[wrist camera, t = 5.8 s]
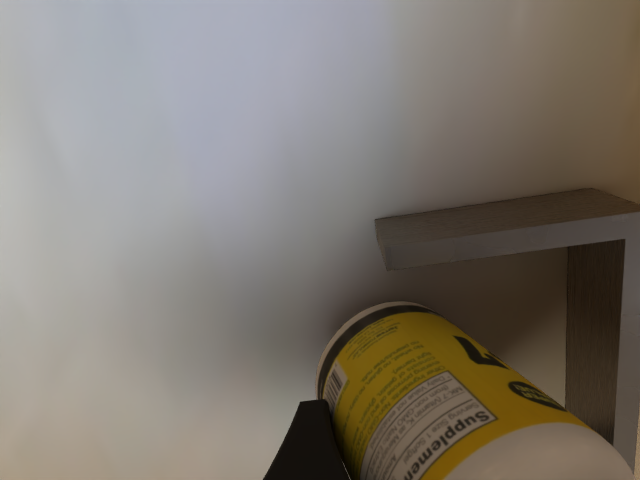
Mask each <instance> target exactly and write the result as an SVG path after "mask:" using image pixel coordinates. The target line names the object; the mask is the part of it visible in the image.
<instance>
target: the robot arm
mask: <svg viewBox="0 0 640 480" xmlns="http://www.w3.org/2000/svg"><path fill="white" fill-rule="evenodd" d="M263 480H350V479H349V476H348V474H347V472H346V469H345V467H344V465H343V462H342V459H341V457H340V454H339V451H338V449H337V446H336V443H335V440H334V436H333V429H332V422H331V414H330V409H329V403H328V402H327V401H326V400H325V399H319V400H311V401H303V402H300V404H299V406H298V409H297V411H296V414H295V416H294V419H293V421H292V423H291V426H290V428H289V430H288V432H287V434H286V437H285V439H284V441H283V443H282V445H281V447H280V449H279V451H278V453H277V455H276V457H275V458H274V460H273V462H272V464H271V466H270V468H269V470H268V472H267V473H266V475H265V477H264V479H263Z"/></svg>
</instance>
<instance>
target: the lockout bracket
mask: <svg viewBox="0 0 640 480" xmlns="http://www.w3.org/2000/svg"><path fill="white" fill-rule="evenodd" d="M375 226H376V234H377V240H378V244H379V247H380V250H381V253H382V256H383V259H384V262H385V266H386V269H387V271H391V270H398V269H406V268H413V267H420V266H428V265H435V264H442V263H450V262H457V261H464V260H472V259H479V258H486V257H494V256H501V255H508V254H516V253H523V252H530V251H538V250H545V249H552V248H560V247H567V246H568V298H567V358H566V410H568V411H569V412H570V413H571V414H573V415H574V416H575V417H577V418H578V419H579V420H581V421H582V422H583V423H585V424H586V425H587V426H589V427H590V428H591V429H593V430H594V431H595V432H597V433H598V434H599V435H601V436H602V437H603V438H604V439H605V440H606V441H607V442H608V443H609V444H611V445H612V446H613V447H614V448H615V449H616V450H617V451H618V453H619V454H620V455H621V456H622V457H623V458H624V460H625V461H626V463H627V464H628V466H629V467H630V469H631V471H632V473H633V475H634V466H635V454H636V441H637V429H638V416H639V403H640V204H637V203H634V202H631V201H628V200H625V199H622V198H619V197H616V196H613V195H610V194H607V193H604V192H601V191H598V190H595V189H592V188H589V189H582V190H575V191H568V192H561V193H555V194H548V195H541V196H534V197H527V198H520V199H513V200H507V201H500V202H493V203H486V204H479V205H472V206H465V207H459V208H452V209H445V210H438V211H431V212H424V213H417V214H411V215H404V216H397V217H390V218H383V219H376V220H375Z"/></svg>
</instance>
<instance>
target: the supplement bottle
mask: <svg viewBox="0 0 640 480" xmlns="http://www.w3.org/2000/svg"><path fill="white" fill-rule="evenodd" d="M315 388H316V397H317V400H319V399H325V400H326V401H327V402H328V403H329V409H330V414H331V422H332V429H333V436H334V440H335V443H336V446H337V449H338V451H339V454H340V457H341V459H342V461H343V463H344V466H345V468H346V470H347V473H348V475H349V477H350V479H351V480H636V479H635V477H634V475H633V473H632V471H631V469H630V467H629V466H628V464H627V463H626V461H625V460H624V458H623V457H622V456H621V455H620V454H619V453H618V451H617V450H616V449H615V448H614V447H613V446H612V445H611V444H609V443H608V442H607V441H606V440H605V439H604V438H603V437H602V436H601V435H599V434H598V433H597V432H595V431H594V430H593V429H591V428H590V427H589V426H587V425H586V424H585V423H583V422H582V421H581V420H579V419H578V418H577V417H575V416H574V415H573V414H571V413H570V412H569V411H568V410H566V409H565V408H564V407H562V406H561V405H560V404H559V403H557V402H556V401H554V400H553V399H552V398H550V397H549V396H548V395H546V394H545V393H544V392H542V391H541V390H540V389H539V388H537V387H536V386H535V385H533V384H532V383H531V382H529V381H528V380H527V379H525V378H524V377H523V376H521V375H520V374H519V373H518V372H516V371H515V370H513V369H512V368H511V367H509V366H508V365H507V364H505V363H504V362H503V361H501V360H500V359H499V358H498V357H496V356H495V355H493V354H492V353H491V352H489V351H488V350H487V349H485V348H484V347H483V346H481V345H480V344H479V343H477V342H476V341H475V340H473V339H472V338H471V337H470V336H468V335H467V334H466V333H464V332H463V331H462V330H460V329H459V328H458V327H456V326H455V325H454V324H452V323H451V322H449V321H448V320H447V319H445V318H444V317H443V316H441V315H440V314H438V313H437V312H435V311H434V310H432V309H430V308H428V307H426V306H423V305H420V304H417V303H413V302H406V301H395V302H387V303H382V304H378V305H375V306H373V307H370V308H368V309H366V310H364V311H362V312H360V313H358V314H357V315H355V316H354V317H352V318H351V319H350V320H349V321H347V322H346V323H345V324H344V325H343V326H342V327H341V328H340V329H339V330H338V331H337V332H336V334H335V335H334V336H333V337H332V339H331V340H330V342H329V343H328V345H327V346H326V348H325V350H324V352H323V354H322V356H321V358H320V361H319V365H318V368H317V373H316V382H315Z"/></svg>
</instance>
